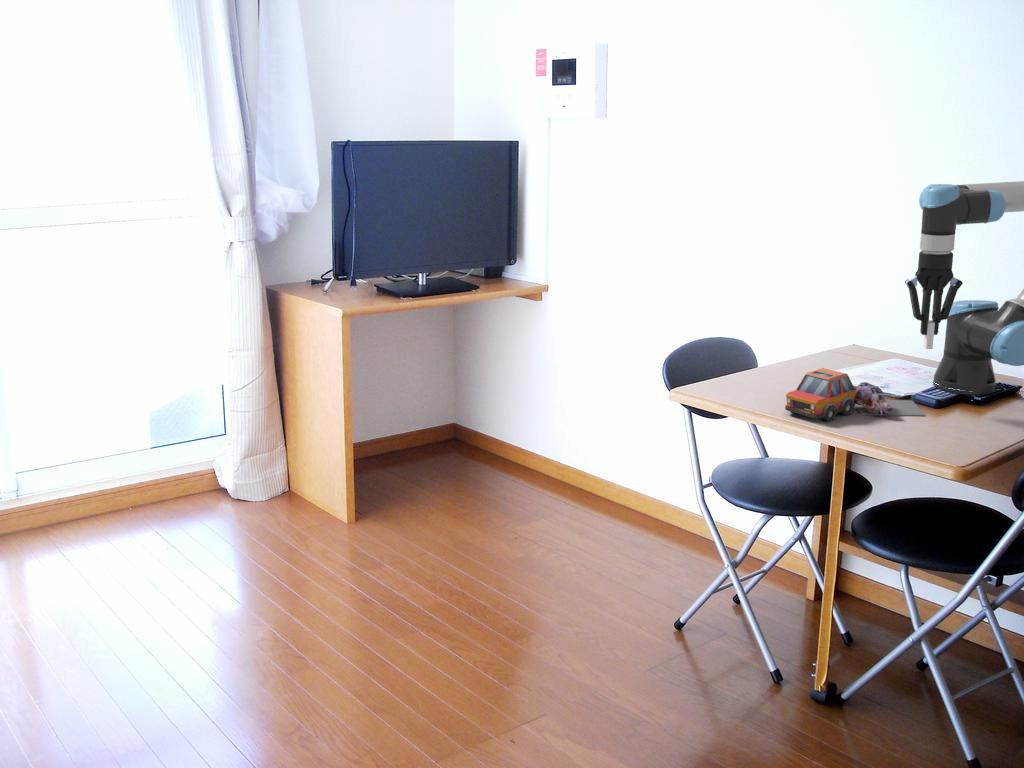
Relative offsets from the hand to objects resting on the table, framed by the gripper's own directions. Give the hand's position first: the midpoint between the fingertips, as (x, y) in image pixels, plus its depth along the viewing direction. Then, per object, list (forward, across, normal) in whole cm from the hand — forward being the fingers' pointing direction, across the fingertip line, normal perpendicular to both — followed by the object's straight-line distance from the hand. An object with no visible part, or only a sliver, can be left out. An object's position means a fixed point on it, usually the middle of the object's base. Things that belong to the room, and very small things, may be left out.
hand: (927, 347), depth 254 cm
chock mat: (+16, +8, 0) cm, 18 cm away
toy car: (+16, +26, +4) cm, 30 cm away
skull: (+15, +13, +3) cm, 20 cm away
